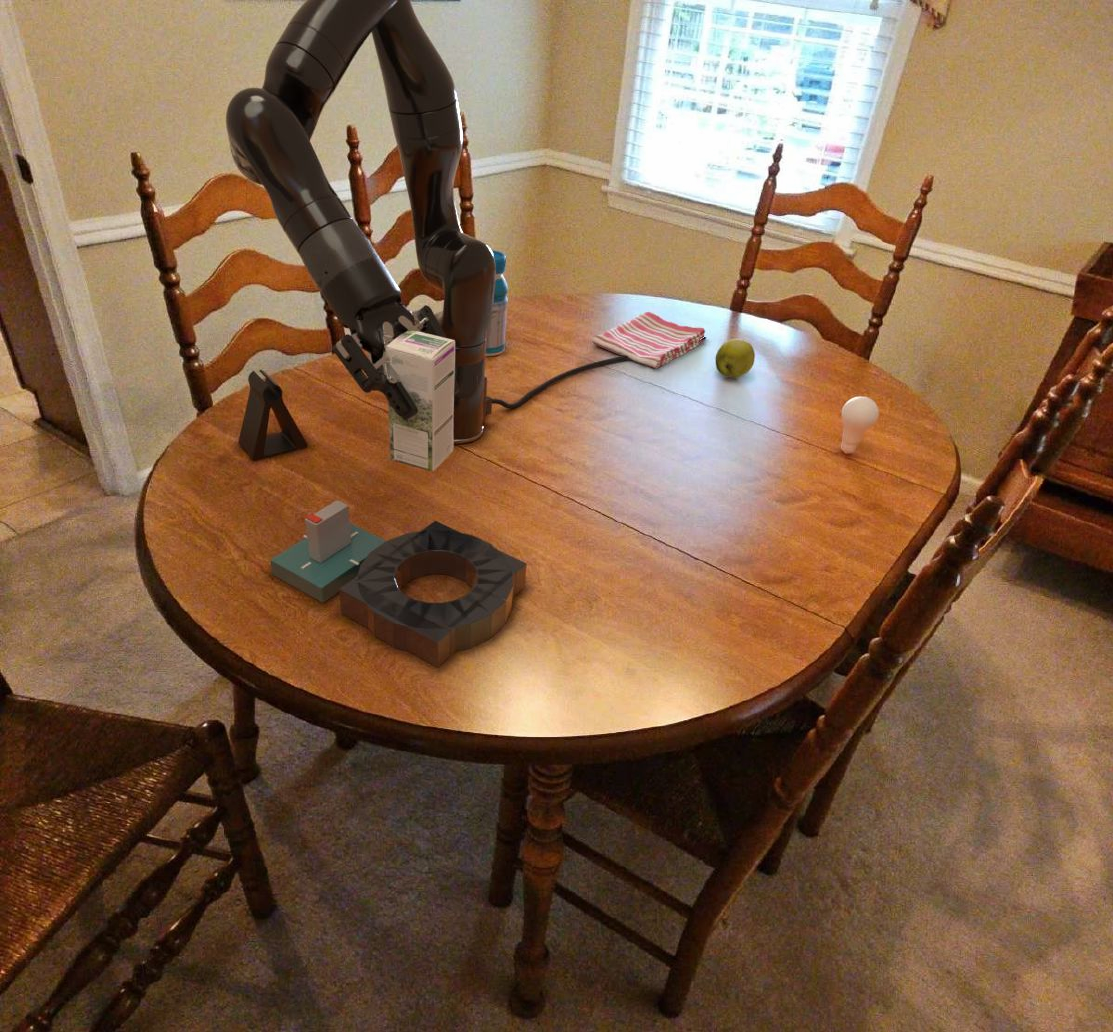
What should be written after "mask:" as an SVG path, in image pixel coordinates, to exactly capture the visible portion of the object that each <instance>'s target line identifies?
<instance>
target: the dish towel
mask: <svg viewBox="0 0 1113 1032" xmlns="http://www.w3.org/2000/svg"><path fill="white" fill-rule="evenodd" d="M705 333H706V329H705V328H704V327H692V326H687V325H679V324H677V323H675V322H672V321H668V320H666V319H664V318H663V317H660V316H659V315H657V314H655V313H654V312H651V311H645V312H644V313H641V314H639V315H637V316H635V317H634V318H632V319H631V320H629V321H625V322H623V323H621V324H620V325H617V326H616V327H612V328H610V329H608V330H606V331H604V332H603V333H600V334H596V335H594V336H593V338H592V339H591V342H592V343H593V344H594V345H596V346H598V347H599V348H602V349H604V350H608V351H610V352H611V353H614V354H616V355H619V356H625V355H627V356H628V357H629V359H628V360H632V361H634V362H636V363H639V364H642V365H645V366H647V367H651V368H654V369H655V370H656V369H658V368H659V367H661V366H664V365H665V364H667V363H669V362H671V361H673V360H674V359H676V358H679V357H682V356H683V355H685V354H686V353H687V352H689V351H692V350H693V349H696V348H697V347H698V346H699V345H701V344H702V343H703V341H701V340H702V339H703V337H704V336H705ZM701 338H702V339H701ZM700 339H701V340H700Z"/></svg>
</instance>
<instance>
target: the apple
mask: <svg viewBox="0 0 1113 1032" xmlns="http://www.w3.org/2000/svg"><path fill="white" fill-rule="evenodd" d="M755 354H756V353H755V349H754V347H753V345H752V344H751V343H750V342H749V341H747V340H745V339H742V338H732V339H728V340H726V341H725V342H723V344H722V345H720V347H719V349H717V352H716V355H715V366H716V370H717V371H718V372H719V374H720V375H722V376H723V377H726V378H732V379H734V378H739V377H741V376H744V375H746V374H748V372H750V371H751V369H752V368H753V366H754V364H755V357H756V355H755Z"/></svg>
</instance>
